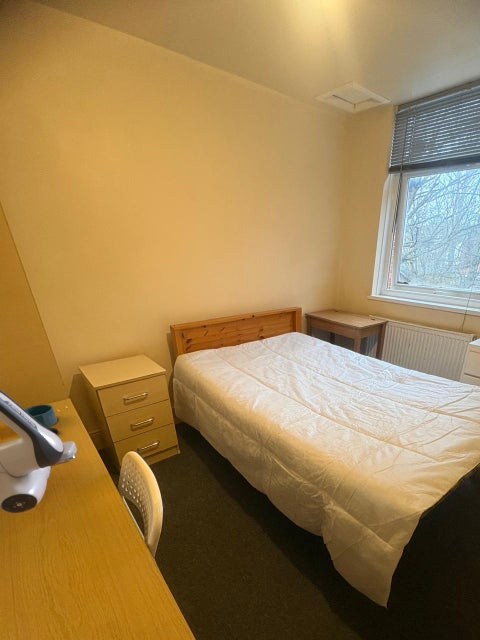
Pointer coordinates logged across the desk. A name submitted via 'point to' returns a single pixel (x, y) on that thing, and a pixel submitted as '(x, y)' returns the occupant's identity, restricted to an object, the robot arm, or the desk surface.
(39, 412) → the bowl
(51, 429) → the gaming controller
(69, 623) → the desk surface
